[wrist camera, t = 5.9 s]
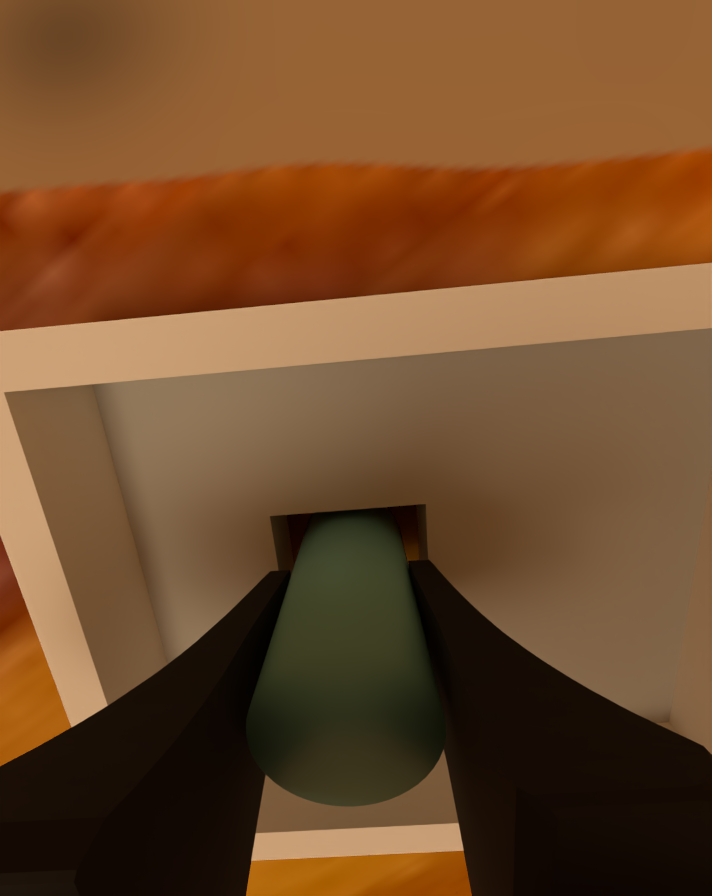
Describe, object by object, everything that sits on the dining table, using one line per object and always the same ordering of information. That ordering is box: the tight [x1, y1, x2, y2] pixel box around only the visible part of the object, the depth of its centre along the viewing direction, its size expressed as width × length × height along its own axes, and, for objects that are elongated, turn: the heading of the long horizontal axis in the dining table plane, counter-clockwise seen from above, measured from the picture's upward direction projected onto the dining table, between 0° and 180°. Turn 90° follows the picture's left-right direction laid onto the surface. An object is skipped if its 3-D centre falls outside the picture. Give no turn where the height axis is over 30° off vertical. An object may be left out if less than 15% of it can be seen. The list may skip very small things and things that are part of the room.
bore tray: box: [0, 263, 712, 861], centre depth 11 cm, size 20×16×4 cm
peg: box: [246, 507, 446, 807], centre depth 10 cm, size 4×4×7 cm
